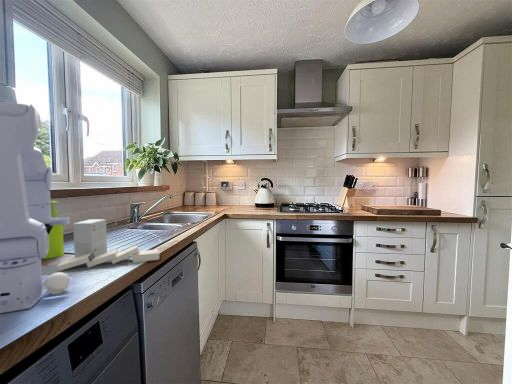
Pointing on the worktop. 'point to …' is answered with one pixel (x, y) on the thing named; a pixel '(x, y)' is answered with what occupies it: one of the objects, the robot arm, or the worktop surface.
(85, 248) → the small box
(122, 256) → the domino
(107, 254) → the domino
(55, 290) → the mushroom
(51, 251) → the soap dispenser
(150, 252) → the domino
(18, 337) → the worktop surface
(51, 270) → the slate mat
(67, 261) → the domino
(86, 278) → the worktop surface
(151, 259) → the domino
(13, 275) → the robot arm
